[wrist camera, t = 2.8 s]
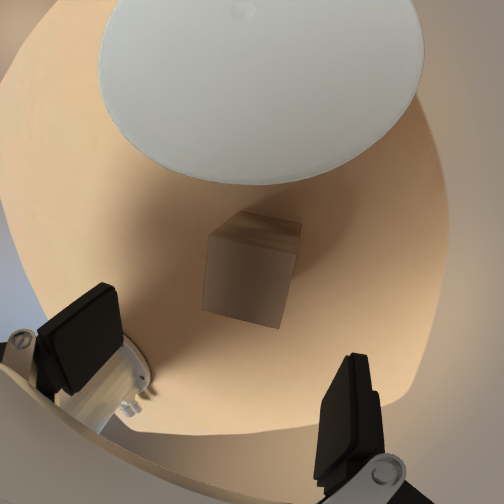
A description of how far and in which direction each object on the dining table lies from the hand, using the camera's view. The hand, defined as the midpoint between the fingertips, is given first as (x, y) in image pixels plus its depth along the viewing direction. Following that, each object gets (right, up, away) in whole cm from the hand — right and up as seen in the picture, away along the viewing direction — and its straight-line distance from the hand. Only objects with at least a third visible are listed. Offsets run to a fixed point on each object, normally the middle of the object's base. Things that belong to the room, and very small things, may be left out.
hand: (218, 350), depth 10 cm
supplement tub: (+4, +14, +9) cm, 17 cm away
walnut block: (+2, +4, +12) cm, 13 cm away
